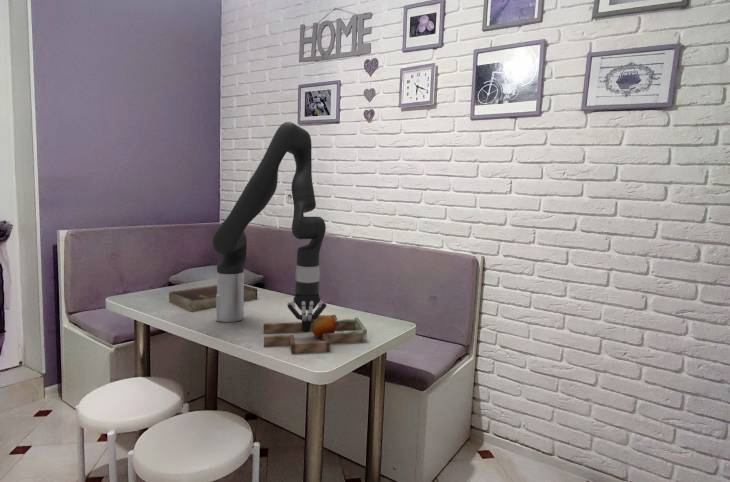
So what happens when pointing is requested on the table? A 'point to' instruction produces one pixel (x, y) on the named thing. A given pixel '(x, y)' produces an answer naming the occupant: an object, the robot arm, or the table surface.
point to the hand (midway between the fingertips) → (306, 331)
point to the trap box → (311, 347)
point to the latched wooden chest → (203, 297)
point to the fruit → (323, 326)
